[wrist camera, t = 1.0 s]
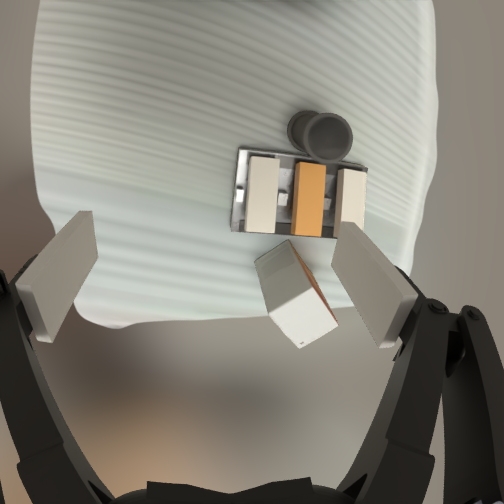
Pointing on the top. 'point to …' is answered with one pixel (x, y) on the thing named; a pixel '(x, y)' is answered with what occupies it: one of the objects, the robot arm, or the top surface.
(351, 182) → the beige rectangular tile
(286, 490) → the robot arm
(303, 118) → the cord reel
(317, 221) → the paddle mid
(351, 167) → the plate
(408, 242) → the top surface
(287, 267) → the small box
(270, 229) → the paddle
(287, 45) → the top surface
